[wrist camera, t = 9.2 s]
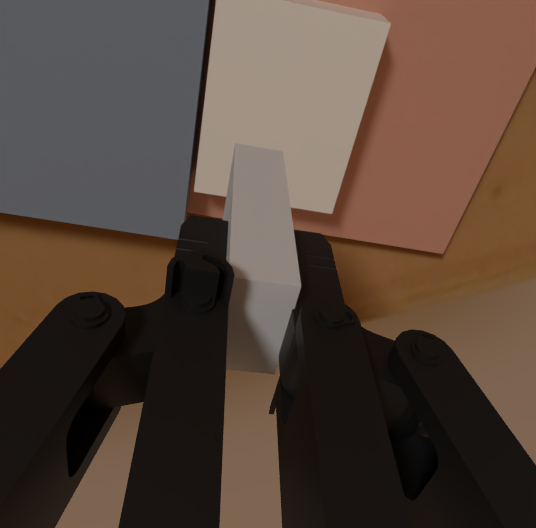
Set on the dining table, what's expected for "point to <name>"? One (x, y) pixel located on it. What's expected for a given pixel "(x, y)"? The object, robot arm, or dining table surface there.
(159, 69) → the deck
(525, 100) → the dining table surface
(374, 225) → the mat
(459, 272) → the dining table surface
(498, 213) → the dining table surface
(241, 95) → the tile
